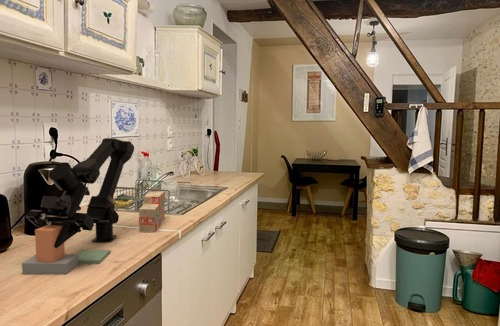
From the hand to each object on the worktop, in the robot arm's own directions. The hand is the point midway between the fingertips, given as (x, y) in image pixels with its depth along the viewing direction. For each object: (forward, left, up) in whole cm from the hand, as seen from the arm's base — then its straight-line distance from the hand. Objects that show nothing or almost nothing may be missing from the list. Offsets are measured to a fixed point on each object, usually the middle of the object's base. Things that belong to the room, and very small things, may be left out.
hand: (46, 246), depth 100 cm
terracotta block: (-1, 0, -4) cm, 4 cm away
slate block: (-1, 0, -7) cm, 7 cm away
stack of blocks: (-47, +18, -7) cm, 51 cm away
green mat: (-10, +8, -7) cm, 14 cm away
